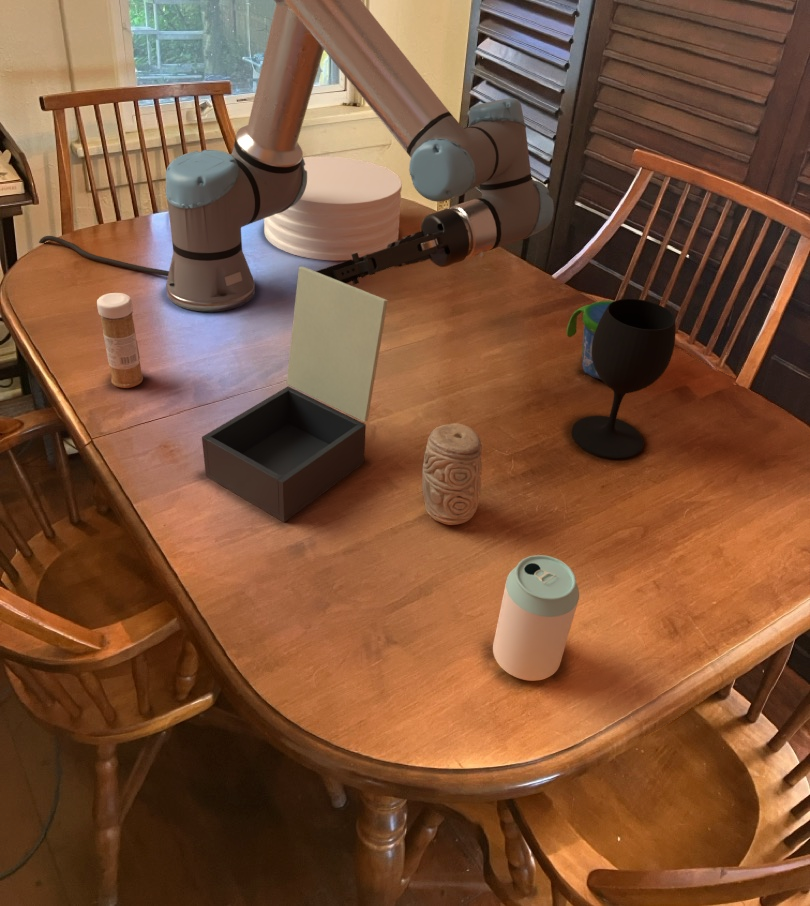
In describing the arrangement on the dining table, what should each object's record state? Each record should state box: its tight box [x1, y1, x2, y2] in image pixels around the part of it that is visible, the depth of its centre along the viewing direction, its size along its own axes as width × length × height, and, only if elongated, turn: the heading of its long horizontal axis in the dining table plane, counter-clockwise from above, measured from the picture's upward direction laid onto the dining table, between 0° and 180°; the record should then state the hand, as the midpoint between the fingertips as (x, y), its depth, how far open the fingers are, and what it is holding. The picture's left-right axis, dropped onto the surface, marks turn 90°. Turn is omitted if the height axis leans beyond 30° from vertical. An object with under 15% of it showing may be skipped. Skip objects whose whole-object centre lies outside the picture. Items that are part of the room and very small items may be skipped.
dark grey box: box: [201, 385, 367, 523], centre depth 103 cm, size 16×14×6 cm
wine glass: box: [571, 298, 677, 461], centre depth 110 cm, size 10×10×20 cm
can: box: [492, 554, 580, 682], centre depth 80 cm, size 7×7×12 cm
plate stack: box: [263, 156, 403, 262], centre depth 165 cm, size 28×28×12 cm
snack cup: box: [566, 300, 615, 382], centre depth 128 cm, size 16×10×10 cm
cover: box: [286, 265, 388, 423], centre depth 102 cm, size 16×14×1 cm
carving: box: [421, 422, 483, 526], centre depth 97 cm, size 6×8×12 cm
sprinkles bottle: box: [96, 292, 144, 389], centre depth 115 cm, size 5×5×14 cm
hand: (309, 284), depth 105 cm, fingers closed
